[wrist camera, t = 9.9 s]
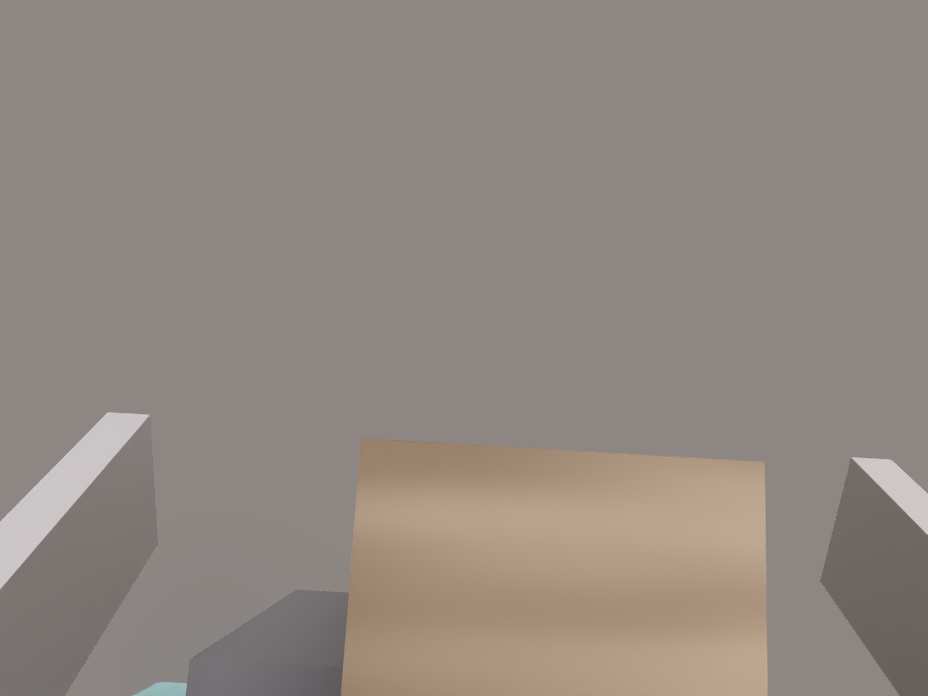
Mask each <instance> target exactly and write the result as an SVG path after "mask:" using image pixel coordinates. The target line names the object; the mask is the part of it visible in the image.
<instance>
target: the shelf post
mask: <svg viewBox="0 0 928 696" xmlns="http://www.w3.org/2000/svg"><path fill="white" fill-rule="evenodd" d="M348 598H349V593H343V592H325V591H307V590H295V591H294V592H292V593H291V594H289V595H288V596H286V597H285V598H283V599H282V600H280V601H278V602H277V603H275V604H274V605H272V606H271V607H269V608H268V609H266V610H265V611H263V612H262V613H260V614H259V615H257V616H255V617H254V618H252V619H251V620H249V621H248V622H246V623H245V624H243V625H242V626H241V627H239V628H237V629H236V630H234V631H233V632H231V633H229V634H228V635H227V636H225V637H223V638H222V639H220V640H219V641H217V642H216V643H214V644H213V645H211V646H210V647H208V648H207V649H205V650H204V651H202V652H200V653H199V654H197V655H196V656H194V657H193V658H191V659H190V664H189V672H188V681H187V690H186V696H341V686H342V674H343V661H344V648H345V636H346V623H347V611H348Z"/></svg>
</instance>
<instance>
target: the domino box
mask: <svg viewBox="0 0 928 696" xmlns="http://www.w3.org/2000/svg"><path fill="white" fill-rule="evenodd" d="M360 448H361V449H360V459H359V472H358V484H357V498H356V509H355V522H354V535H353V547H352V560H351V573H350V585H349V598H348V611H347V623H346V636H345V648H344V661H343V674H342V686H341V696H768V692H767V620H766V619H767V615H766V614H767V608H766V526H765V462H756V461H739V460H722V459H705V458H688V457H671V456H655V455H654V456H653V455H638V454H637V455H636V454H621V453H604V452H588V451H571V450H554V449H537V448H520V447H502V446H487V445H470V444H453V443H436V442H418V441H402V440H386V439H368V438H361V446H360Z"/></svg>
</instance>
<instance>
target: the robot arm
mask: <svg viewBox="0 0 928 696" xmlns="http://www.w3.org/2000/svg"><path fill="white" fill-rule="evenodd" d="M157 545H158V540H157V523H156V507H155V490H154V475H153V457H152V440H151V423H150V415H144V414H128V413H111V412H108V413H107V414H106V415H105V416H104V417H103V418H102V419H101V420H100V421H99V422H98V423H97V424H96V425H95V426H94V427H93V428H92V429H91V430H90V431H89V432H88V433H87V434H86V435H85V436H84V437H83V438H82V439H81V440H80V441H79V442H78V443H77V445H75V447H74V448H72V450H70V451H69V452H68V453H67V454H66V455H65V456H64V457H63V459H62V460H61V461H60V462H59V463H58V464H57V465H56V466H55V467H54V468H53V469H52V470H51V471H50V472H49V473H48V474H47V475H46V476H45V477H44V478H43V479H42V480H41V481H40V482H39V483H38V484H37V485H36V486H35V487H34V488H33V489H32V490H31V491H30V492H29V493H28V494H27V495H26V496H25V497H24V498H23V499H22V500H21V501H20V502H19V503H18V504H17V505H16V507H14V508H13V509H12V510H11V511H10V512H9V513H8V514H7V515H6V517H4V519H3V520H2V521H1V522H0V696H65V694H66V693H67V691H68V689H69V688H70V686H71V684H72V683H73V681H74V680H75V678H76V676H77V675H78V673H79V672H80V670H81V668H82V667H83V665H84V663H85V662H86V660H87V659H88V657H89V655H90V654H91V652H92V650H93V649H94V647H95V645H96V644H97V642H98V641H99V639H100V637H101V636H102V634H103V632H104V631H105V629H106V628H107V626H108V624H109V623H110V621H111V619H112V618H113V616H114V615H115V613H116V611H117V610H118V608H119V606H120V605H121V603H122V602H123V600H124V598H125V597H126V595H127V593H128V592H129V590H130V589H131V587H132V585H133V583H134V582H135V580H136V578H137V577H138V576H139V574H140V572H141V571H142V569H143V567H144V566H145V564H146V563H147V561H148V559H149V558H150V556H151V554H152V553H153V551H154V550H155V548H156V546H157ZM820 582H821V583H822V584H823V586H824V587H825V589H826V590H827V592H828V593H829V595H830V596H831V597H832V599H833V600H834V602H835V603H836V604H837V606H838V608H839V609H840V610H841V612H842V613H843V615H844V616H845V618H846V619H847V620H848V622H849V623H850V625H851V626H852V628H853V629H854V631H855V632H856V633H857V635H858V636H859V638H860V639H861V641H862V642H863V643H864V645H865V646H866V648H867V649H868V651H869V652H870V653H871V655H872V657H873V658H874V659H875V661H876V662H877V664H878V665H879V667H880V668H881V669H882V671H883V672H884V674H885V675H886V677H887V678H888V679H889V681H890V682H891V684H892V685H893V687H894V688H895V690H896V691H897V693H898V694H899V695H900V696H928V494H927V493H926V492H925V491H924V490H923V489H922V488H921V487H920V486H919V485H918V484H917V483H916V482H914V481H913V480H912V479H911V478H910V477H909V476H908V475H907V474H906V473H905V472H904V471H903V470H902V469H900V468H899V467H898V466H897V465H896V464H895V463H894V462H892V460H886V459H870V458H853V457H851V460H850V464H849V468H848V473H847V476H846V481H845V484H844V488H843V493H842V497H841V500H840V504H839V509H838V513H837V516H836V520H835V524H834V528H833V532H832V536H831V540H830V544H829V549H828V553H827V556H826V560H825V565H824V568H823V572H822V576H821V580H820Z"/></svg>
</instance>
